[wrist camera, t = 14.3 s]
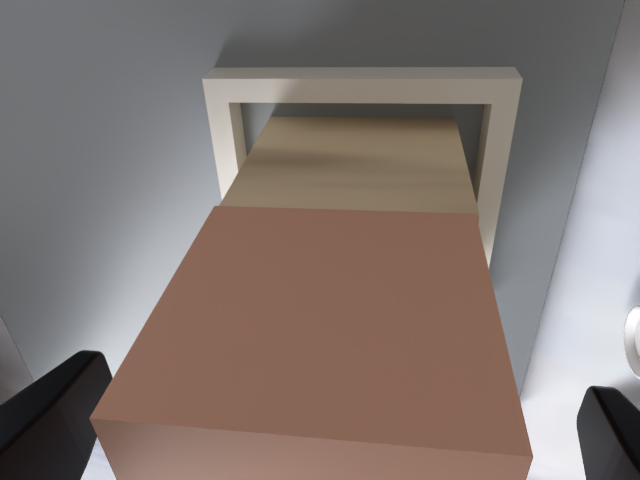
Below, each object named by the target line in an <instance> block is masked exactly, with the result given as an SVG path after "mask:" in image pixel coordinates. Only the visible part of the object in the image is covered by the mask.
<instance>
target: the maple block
mask: <svg viewBox="0 0 640 480" xmlns="http://www.w3.org/2000/svg"><path fill="white" fill-rule="evenodd" d="M219 206H238V207H271V208H304V209H336V210H369V211H402V212H434V213H467V214H476V217H477V221H478V223H479V212H478V207H477V203H476V199H475V195H474V191H473V187H472V183H471V179H470V175H469V171H468V167H467V163H466V159H465V155H464V151H463V147H462V143H461V138H460V134H459V130H458V126H457V122H456V118H372V117H277V116H270V118H269V120H268V121H267V123H266V125H265V127H264V128H263V130H262V132H261V134H260V135H259V137H258V139H257V141H256V142H255V144H254V146H253V148H252V149H251V151H250V153H249V154H248V156H247V158H246V160H245V161H244V163H243V165H242V167H241V168H240V170H239V172H238V174H237V175H236V177H235V179H234V181H233V182H232V184H231V186H230V188H229V189H228V191H227V193H226V195H225V196H224V198H223V200H222V202H221V203H220V205H219Z"/></svg>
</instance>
